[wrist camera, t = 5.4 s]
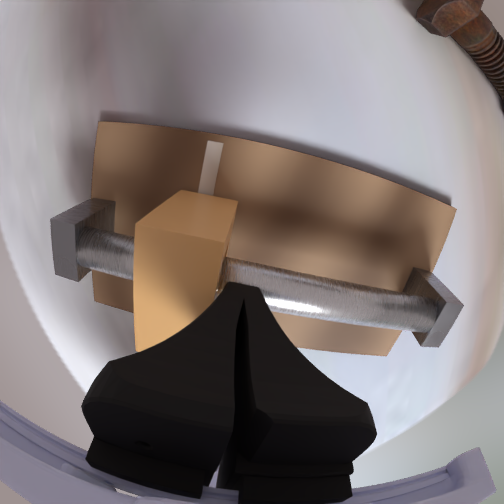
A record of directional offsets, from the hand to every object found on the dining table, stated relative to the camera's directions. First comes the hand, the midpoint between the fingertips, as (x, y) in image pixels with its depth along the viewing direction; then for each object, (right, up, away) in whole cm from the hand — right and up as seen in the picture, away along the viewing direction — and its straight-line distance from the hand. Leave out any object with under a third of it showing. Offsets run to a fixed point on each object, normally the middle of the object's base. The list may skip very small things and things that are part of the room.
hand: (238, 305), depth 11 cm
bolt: (+18, +14, 0) cm, 22 cm away
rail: (+1, +2, +5) cm, 6 cm away
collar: (-2, +2, +4) cm, 5 cm away
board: (+1, +2, +5) cm, 6 cm away
